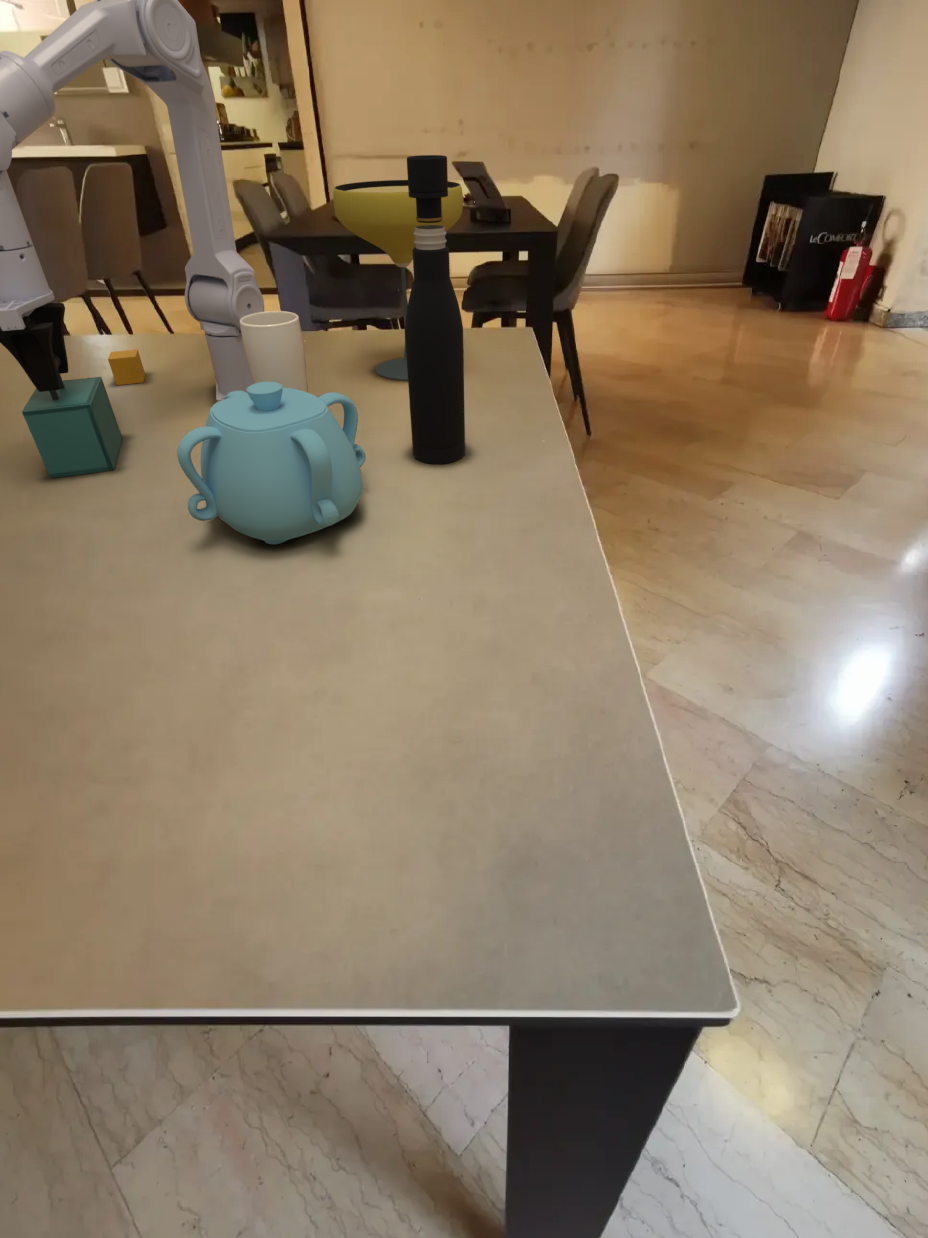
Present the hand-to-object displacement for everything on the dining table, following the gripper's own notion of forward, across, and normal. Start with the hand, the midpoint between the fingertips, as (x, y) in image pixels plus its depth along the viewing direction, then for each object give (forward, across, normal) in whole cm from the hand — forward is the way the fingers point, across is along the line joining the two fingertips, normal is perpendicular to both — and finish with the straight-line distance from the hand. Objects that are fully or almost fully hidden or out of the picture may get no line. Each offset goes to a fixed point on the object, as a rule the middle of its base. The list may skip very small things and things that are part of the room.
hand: (54, 381), depth 77 cm
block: (+9, -30, +3) cm, 32 cm away
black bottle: (+10, +13, +42) cm, 45 cm away
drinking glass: (+10, +4, +25) cm, 27 cm away
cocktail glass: (+10, -20, +46) cm, 51 cm away
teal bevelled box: (+4, 0, +4) cm, 5 cm away
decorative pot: (+10, +23, +23) cm, 34 cm away
